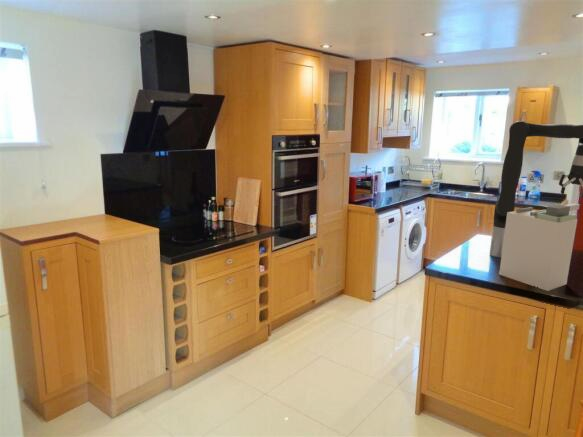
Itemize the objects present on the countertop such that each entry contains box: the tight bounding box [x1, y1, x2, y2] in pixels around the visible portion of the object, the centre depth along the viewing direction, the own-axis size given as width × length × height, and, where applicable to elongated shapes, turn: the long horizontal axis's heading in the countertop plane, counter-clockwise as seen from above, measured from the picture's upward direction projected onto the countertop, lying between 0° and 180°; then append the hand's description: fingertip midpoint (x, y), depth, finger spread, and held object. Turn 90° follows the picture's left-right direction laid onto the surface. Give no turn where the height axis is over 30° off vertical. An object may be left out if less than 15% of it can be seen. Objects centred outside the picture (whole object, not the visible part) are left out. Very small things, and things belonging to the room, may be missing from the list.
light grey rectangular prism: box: [545, 202, 581, 217], centre depth 197 cm, size 21×5×5 cm, turn 121°
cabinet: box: [498, 206, 578, 292], centre depth 202 cm, size 16×24×34 cm, turn 31°
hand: (572, 195), depth 219 cm, fingers open, 8 cm apart
